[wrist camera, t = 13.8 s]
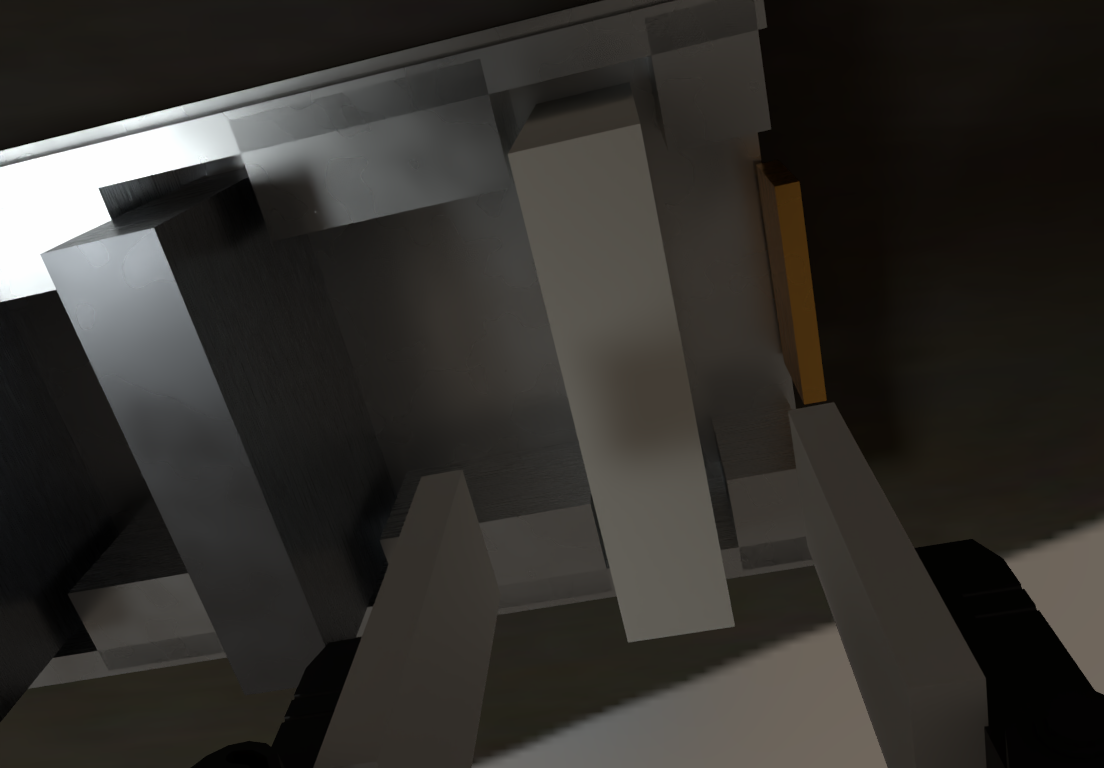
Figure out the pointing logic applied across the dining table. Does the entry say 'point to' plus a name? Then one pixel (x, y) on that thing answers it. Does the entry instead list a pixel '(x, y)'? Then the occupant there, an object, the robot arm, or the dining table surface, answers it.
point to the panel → (622, 357)
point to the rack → (365, 342)
